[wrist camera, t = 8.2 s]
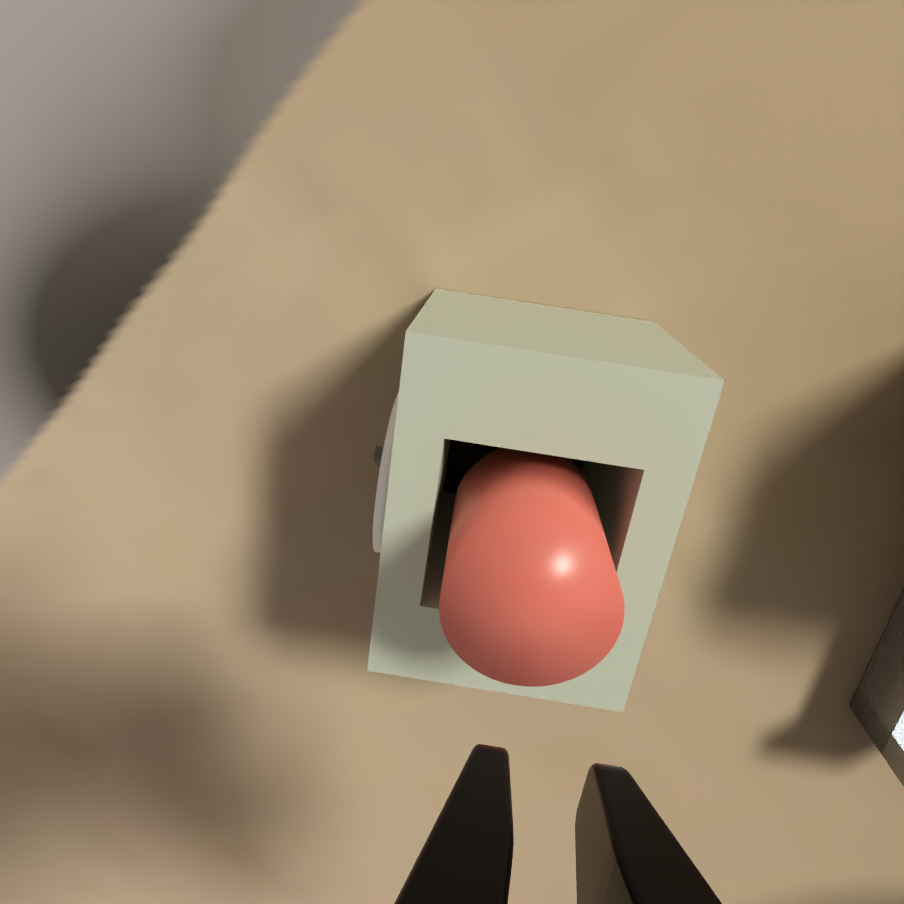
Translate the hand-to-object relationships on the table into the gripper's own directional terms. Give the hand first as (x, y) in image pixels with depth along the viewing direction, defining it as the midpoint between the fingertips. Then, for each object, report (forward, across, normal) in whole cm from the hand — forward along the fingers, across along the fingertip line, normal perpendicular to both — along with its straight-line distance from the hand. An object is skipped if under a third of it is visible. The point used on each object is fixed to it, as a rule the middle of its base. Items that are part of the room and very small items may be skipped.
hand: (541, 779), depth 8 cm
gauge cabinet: (+12, 0, 0) cm, 12 cm away
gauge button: (+7, 0, 0) cm, 7 cm away
